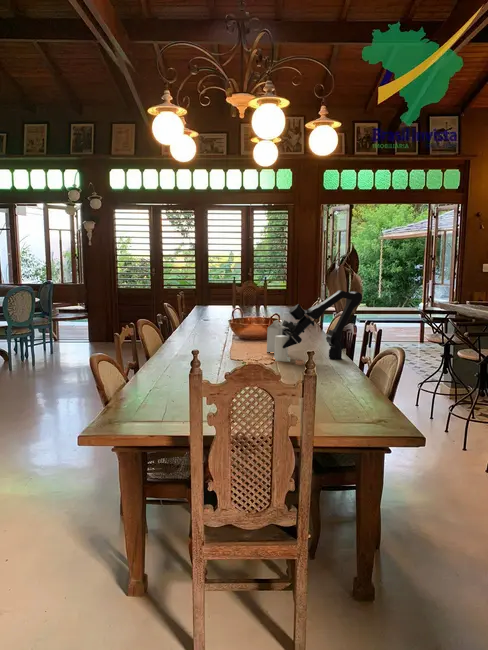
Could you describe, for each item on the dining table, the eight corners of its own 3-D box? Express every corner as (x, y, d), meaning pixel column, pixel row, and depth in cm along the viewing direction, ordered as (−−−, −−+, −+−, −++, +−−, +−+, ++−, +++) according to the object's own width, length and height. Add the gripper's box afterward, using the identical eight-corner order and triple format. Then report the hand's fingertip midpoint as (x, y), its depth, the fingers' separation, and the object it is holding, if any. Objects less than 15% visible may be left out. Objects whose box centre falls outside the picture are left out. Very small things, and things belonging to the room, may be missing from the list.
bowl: (303, 364, 258) (304, 359, 257) (304, 365, 254) (304, 361, 253) (295, 363, 258) (295, 358, 258) (295, 365, 254) (295, 360, 254)
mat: (290, 358, 270) (290, 357, 270) (290, 362, 260) (290, 361, 260) (272, 357, 271) (272, 356, 271) (271, 361, 261) (271, 360, 261)
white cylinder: (285, 357, 270) (286, 335, 268) (289, 360, 263) (290, 337, 261) (273, 357, 268) (273, 335, 266) (276, 360, 262) (277, 337, 260)
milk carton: (266, 353, 280) (267, 320, 277) (271, 351, 287) (272, 319, 284) (277, 355, 277) (279, 321, 274) (282, 352, 283) (284, 320, 280)
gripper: (286, 313, 272) (266, 332, 271) (297, 317, 254) (275, 338, 253) (299, 327, 275) (279, 346, 274) (310, 332, 257) (289, 353, 256)
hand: (280, 346), depth 264 cm, fingers open, 9 cm apart
